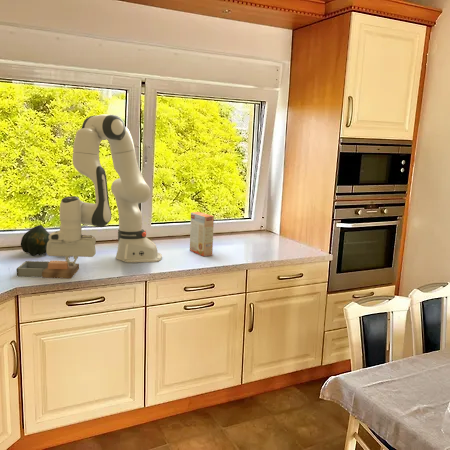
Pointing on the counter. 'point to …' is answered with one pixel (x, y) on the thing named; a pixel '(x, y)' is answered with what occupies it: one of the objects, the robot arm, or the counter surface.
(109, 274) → the counter surface
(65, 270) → the wooden board
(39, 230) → the squash
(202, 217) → the cracker box
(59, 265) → the tile
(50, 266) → the tile
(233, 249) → the counter surface
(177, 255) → the counter surface
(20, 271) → the tray
